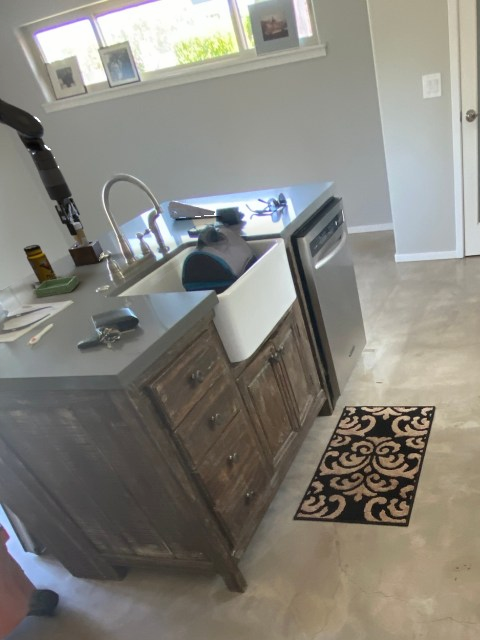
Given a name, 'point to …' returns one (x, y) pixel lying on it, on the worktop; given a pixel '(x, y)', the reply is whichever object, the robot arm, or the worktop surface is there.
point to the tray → (56, 286)
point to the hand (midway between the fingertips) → (77, 232)
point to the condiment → (39, 264)
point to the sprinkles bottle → (80, 235)
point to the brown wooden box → (86, 253)
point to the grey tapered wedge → (187, 211)
